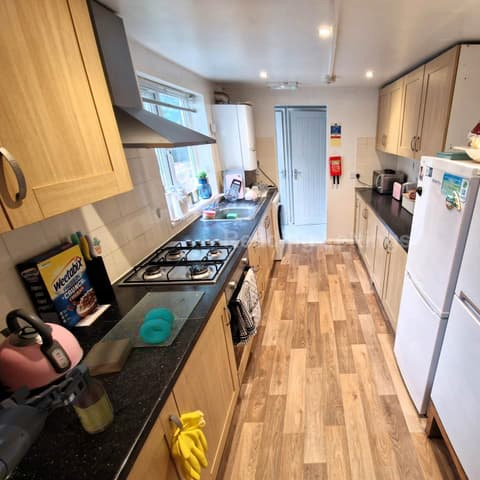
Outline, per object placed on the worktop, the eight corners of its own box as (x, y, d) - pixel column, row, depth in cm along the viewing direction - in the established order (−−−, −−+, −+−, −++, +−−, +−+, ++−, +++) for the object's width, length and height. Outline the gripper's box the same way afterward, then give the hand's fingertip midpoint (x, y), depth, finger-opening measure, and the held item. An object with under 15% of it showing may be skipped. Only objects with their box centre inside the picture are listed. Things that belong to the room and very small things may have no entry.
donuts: (176, 324, 108) (172, 304, 104) (172, 341, 99) (167, 320, 96) (148, 329, 105) (143, 309, 101) (142, 347, 96) (135, 325, 92)
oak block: (81, 377, 84) (77, 368, 83) (98, 352, 94) (94, 343, 92) (121, 370, 87) (117, 361, 85) (133, 346, 97) (130, 338, 95)
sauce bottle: (91, 417, 72) (66, 363, 65) (118, 409, 75) (97, 355, 67) (82, 441, 67) (54, 384, 59) (112, 431, 69) (88, 375, 62)
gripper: (45, 407, 42) (87, 351, 56) (-85, 454, 37) (-2, 379, 51) (63, 444, 44) (99, 380, 58) (-58, 493, 39) (15, 410, 53)
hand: (52, 380), depth 55 cm, fingers open, 8 cm apart
